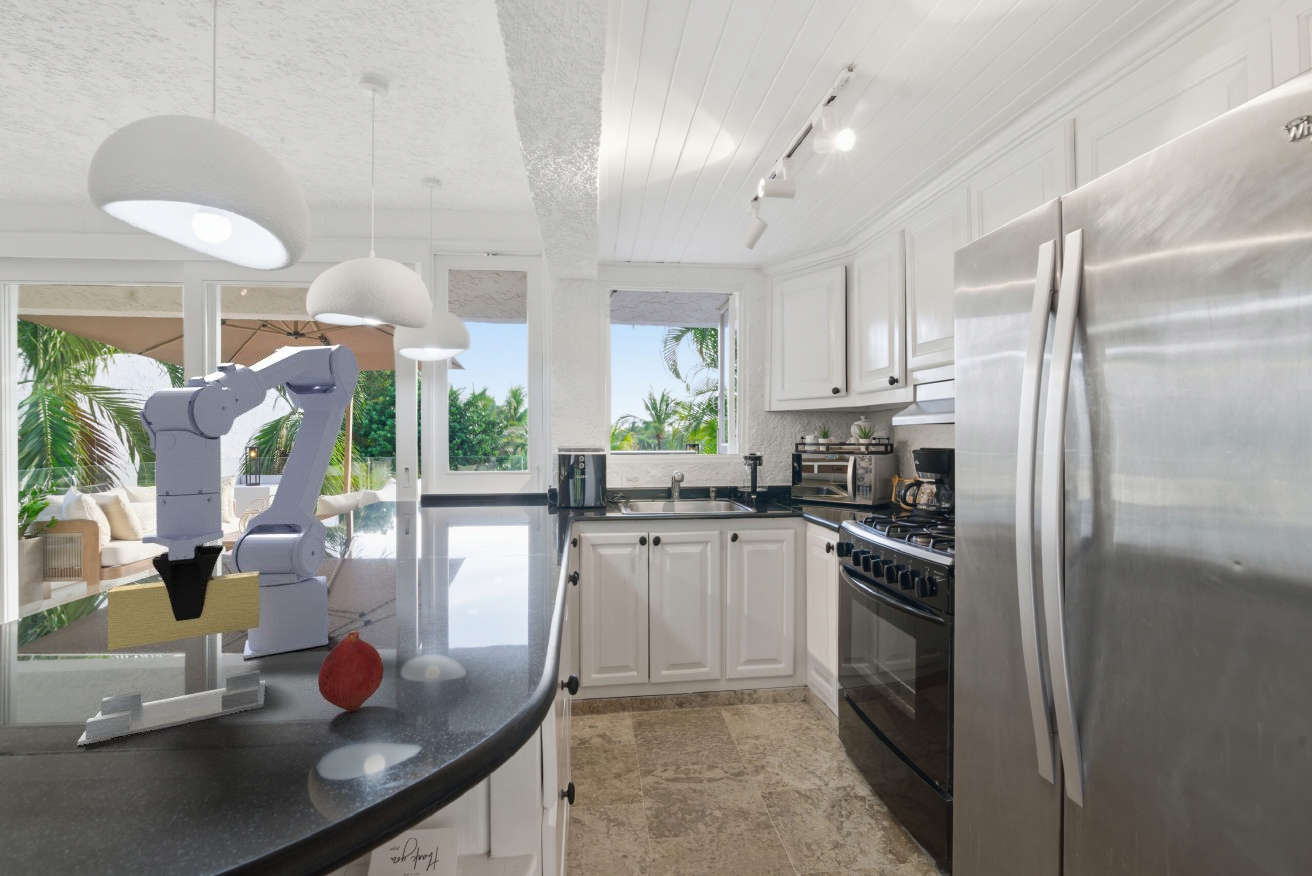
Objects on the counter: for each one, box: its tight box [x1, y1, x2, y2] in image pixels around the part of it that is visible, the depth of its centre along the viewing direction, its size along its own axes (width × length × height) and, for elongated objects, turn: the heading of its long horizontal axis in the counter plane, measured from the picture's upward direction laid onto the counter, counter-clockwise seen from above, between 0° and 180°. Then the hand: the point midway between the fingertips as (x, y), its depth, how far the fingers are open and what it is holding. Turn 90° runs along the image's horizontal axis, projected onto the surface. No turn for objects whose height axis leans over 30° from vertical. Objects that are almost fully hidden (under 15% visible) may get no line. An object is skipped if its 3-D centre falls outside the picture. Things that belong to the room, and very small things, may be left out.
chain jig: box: [77, 669, 266, 746], centre depth 60 cm, size 14×8×2 cm, turn 123°
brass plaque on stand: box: [107, 571, 260, 651], centre depth 66 cm, size 13×3×6 cm, turn 123°
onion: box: [317, 630, 384, 712], centre depth 59 cm, size 6×6×8 cm
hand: (190, 615), depth 66 cm, fingers closed on brass plaque on stand, 3 cm apart
